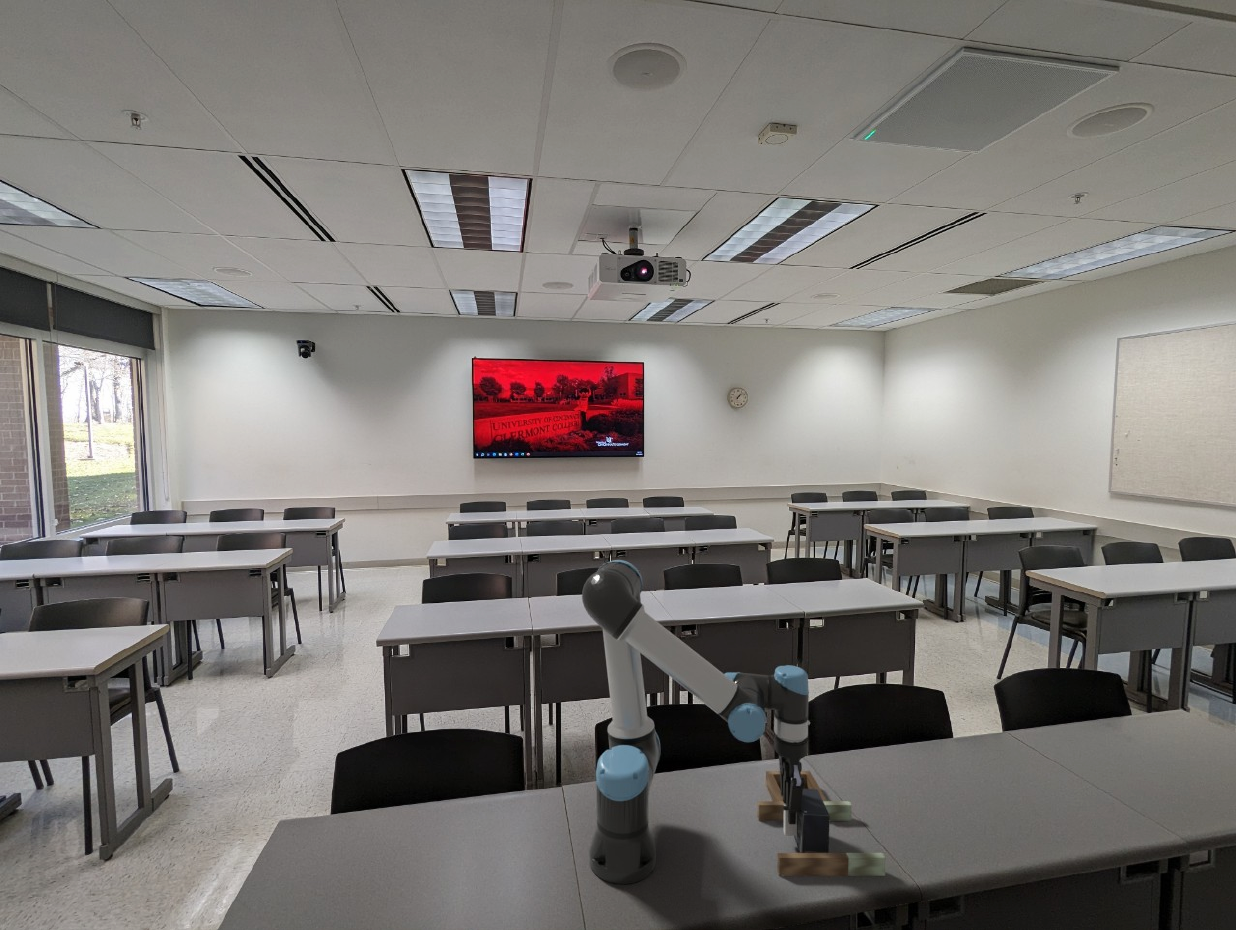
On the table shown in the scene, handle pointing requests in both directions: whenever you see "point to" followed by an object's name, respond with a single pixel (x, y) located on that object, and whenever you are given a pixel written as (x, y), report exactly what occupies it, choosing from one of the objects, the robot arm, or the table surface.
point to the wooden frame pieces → (817, 861)
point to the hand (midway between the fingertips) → (790, 833)
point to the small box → (812, 824)
